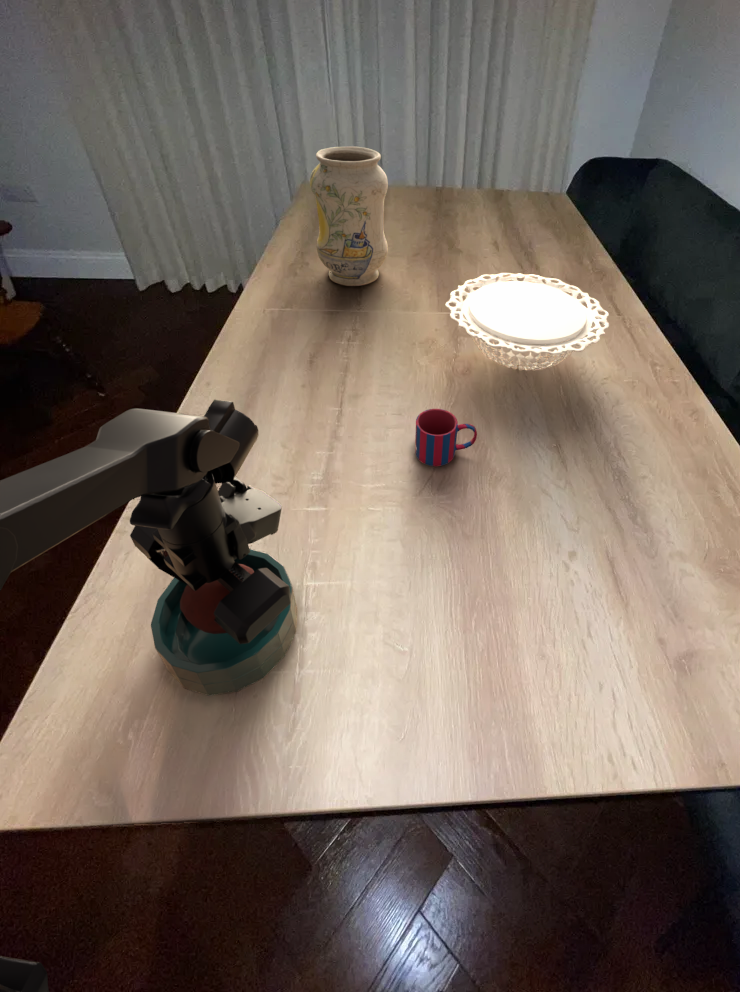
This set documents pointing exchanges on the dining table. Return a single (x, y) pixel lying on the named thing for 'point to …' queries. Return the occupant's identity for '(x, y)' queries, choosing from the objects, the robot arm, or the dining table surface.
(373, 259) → the vase
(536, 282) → the white lattice bowl
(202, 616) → the potato
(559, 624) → the dining table surface
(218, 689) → the bowl
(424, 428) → the mug
